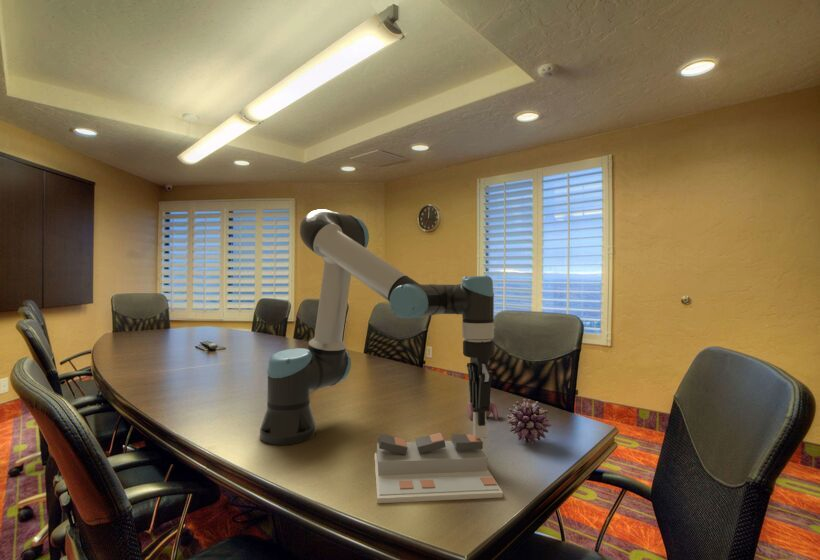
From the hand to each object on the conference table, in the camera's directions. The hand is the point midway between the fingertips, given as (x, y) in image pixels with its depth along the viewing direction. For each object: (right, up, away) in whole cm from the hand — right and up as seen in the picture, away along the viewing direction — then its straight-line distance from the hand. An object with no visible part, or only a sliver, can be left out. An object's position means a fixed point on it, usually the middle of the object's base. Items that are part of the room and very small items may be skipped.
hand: (479, 436), depth 94 cm
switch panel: (-12, -7, -5) cm, 15 cm away
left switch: (-21, -1, -2) cm, 21 cm away
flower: (+16, -8, +14) cm, 23 cm away
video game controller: (+7, -7, +33) cm, 35 cm away
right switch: (-3, -1, 0) cm, 3 cm away
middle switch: (-12, -1, -1) cm, 12 cm away
